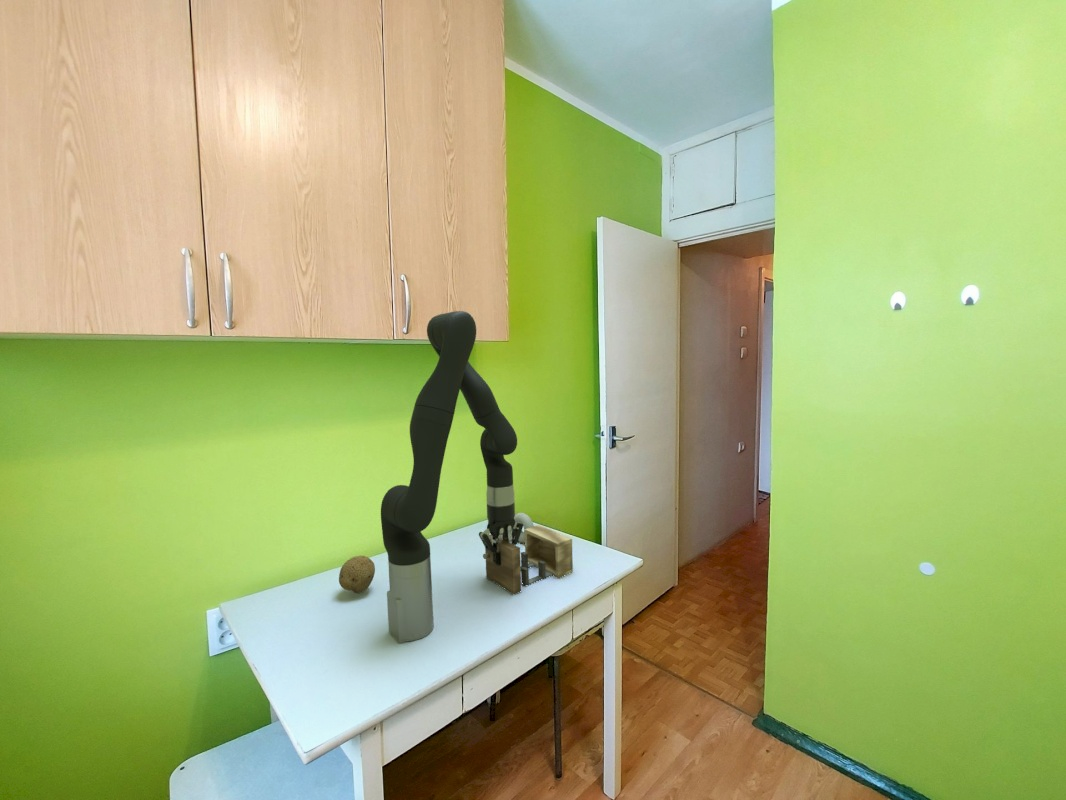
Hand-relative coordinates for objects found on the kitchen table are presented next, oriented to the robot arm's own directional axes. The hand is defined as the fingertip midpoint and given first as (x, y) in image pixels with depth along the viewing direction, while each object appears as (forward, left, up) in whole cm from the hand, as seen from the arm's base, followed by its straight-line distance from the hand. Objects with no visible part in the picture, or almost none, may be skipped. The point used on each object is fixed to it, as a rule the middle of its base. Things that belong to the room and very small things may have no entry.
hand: (502, 562), depth 126 cm
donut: (+22, +20, -6) cm, 30 cm away
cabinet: (+12, 0, -6) cm, 13 cm away
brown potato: (-32, +22, -6) cm, 39 cm away
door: (0, 0, -6) cm, 6 cm away
